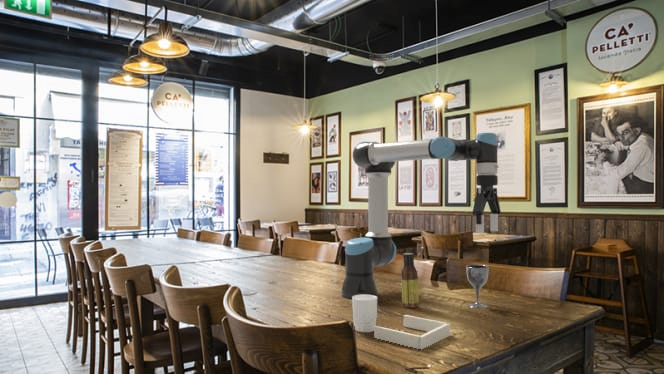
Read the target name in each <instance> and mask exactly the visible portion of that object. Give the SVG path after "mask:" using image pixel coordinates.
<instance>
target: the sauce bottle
mask: <svg viewBox="0 0 664 374" xmlns="http://www.w3.org/2000/svg"><path fill="white" fill-rule="evenodd" d="M402 255H403V256H402V258H403V267H402V269H401V270H400V271H401V273H400V276H401V278H400V279H401V282H400V283H401V303H402V307H404V308H407V309H417V308H419V305H420V296H419V293H420V292H419V276H418V271H417V269H416V266H415V254H414V253H412V252H405V253H403V254H402Z"/></svg>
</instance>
